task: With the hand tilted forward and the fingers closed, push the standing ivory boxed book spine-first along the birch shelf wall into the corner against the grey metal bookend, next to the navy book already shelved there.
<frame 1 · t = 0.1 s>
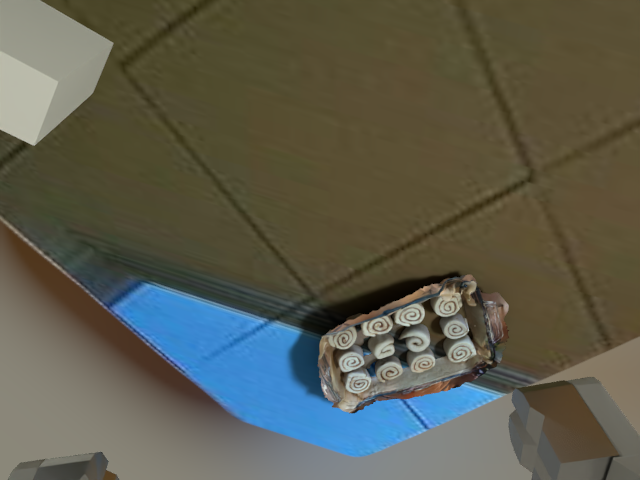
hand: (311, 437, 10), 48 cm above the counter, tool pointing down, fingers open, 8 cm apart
baking tray: (406, 331, 75), on the counter
boxed book: (53, 41, 49), on the counter
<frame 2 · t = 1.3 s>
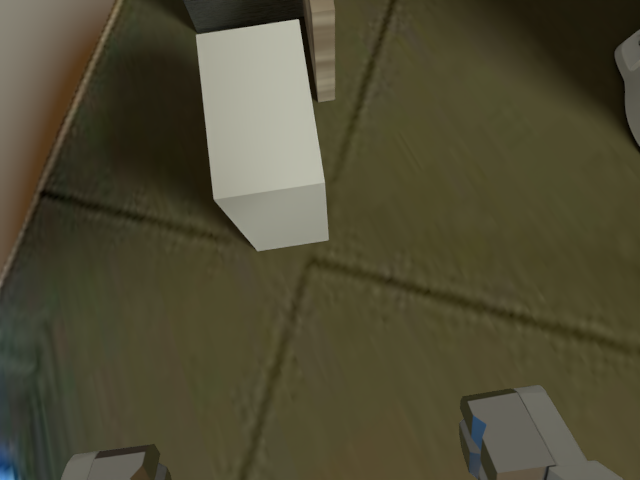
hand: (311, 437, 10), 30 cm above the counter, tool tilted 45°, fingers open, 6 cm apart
boxed book: (285, 189, 42), on the counter
shelf wall: (314, 29, 45), on the counter
bookend: (250, 17, 45), on the counter
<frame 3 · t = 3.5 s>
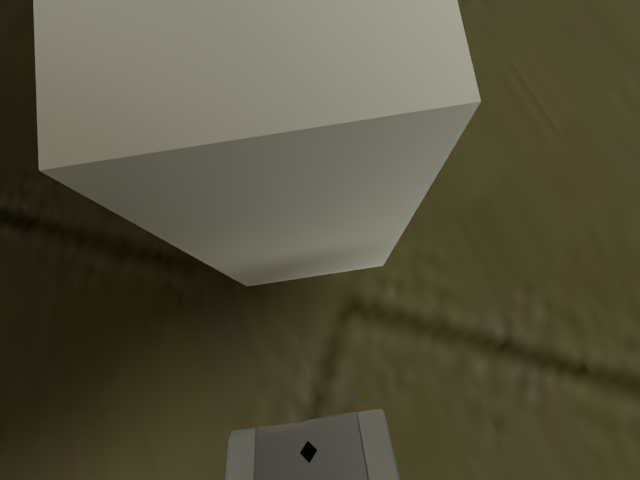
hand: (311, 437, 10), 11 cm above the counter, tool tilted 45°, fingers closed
boxed book: (298, 168, 22), on the counter
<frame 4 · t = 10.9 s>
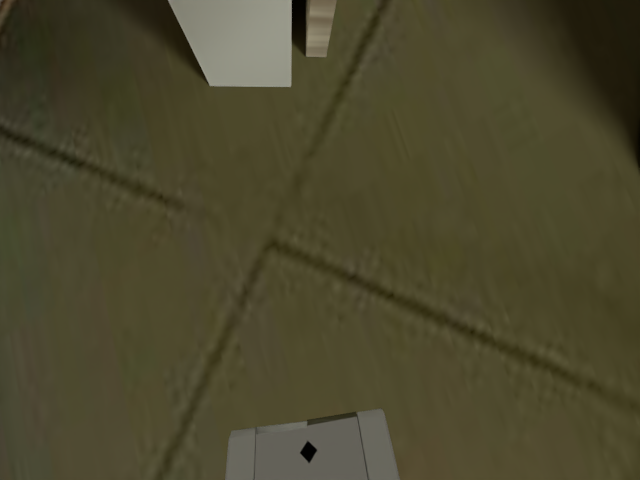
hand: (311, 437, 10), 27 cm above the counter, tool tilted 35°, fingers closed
boxed book: (250, 19, 36), on the counter
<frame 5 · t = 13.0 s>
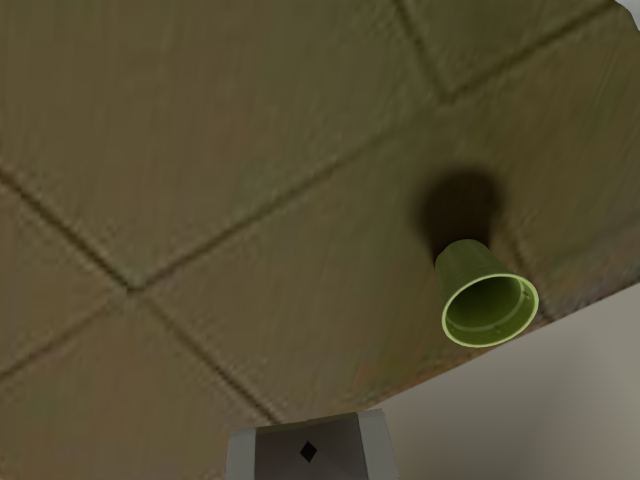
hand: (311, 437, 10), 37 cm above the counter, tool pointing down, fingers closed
plant pot: (460, 260, 55), on the counter
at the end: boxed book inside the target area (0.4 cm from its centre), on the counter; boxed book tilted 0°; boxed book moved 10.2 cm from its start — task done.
